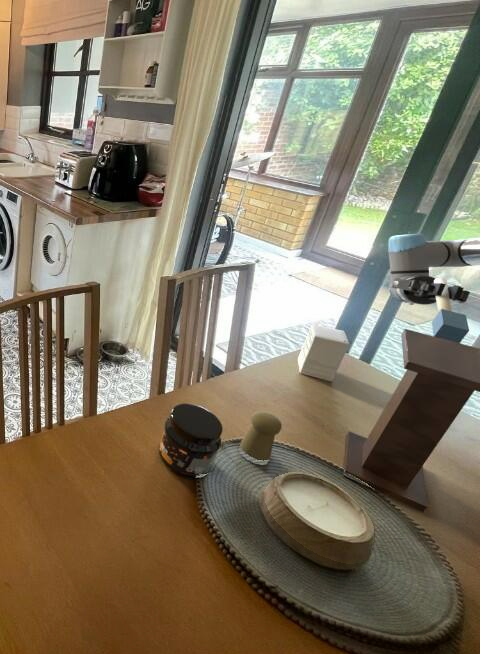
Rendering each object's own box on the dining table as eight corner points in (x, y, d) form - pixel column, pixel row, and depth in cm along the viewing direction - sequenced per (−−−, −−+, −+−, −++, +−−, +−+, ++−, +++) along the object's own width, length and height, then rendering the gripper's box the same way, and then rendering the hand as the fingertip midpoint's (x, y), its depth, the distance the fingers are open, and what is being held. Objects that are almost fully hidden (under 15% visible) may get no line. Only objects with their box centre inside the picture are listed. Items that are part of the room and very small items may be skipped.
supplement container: (153, 437, 95) (163, 398, 90) (202, 444, 93) (215, 404, 88) (163, 476, 86) (175, 435, 80) (217, 485, 84) (234, 444, 78)
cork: (240, 460, 89) (255, 423, 84) (234, 439, 94) (248, 403, 89) (273, 468, 87) (290, 431, 82) (265, 447, 92) (281, 410, 87)
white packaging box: (328, 367, 117) (345, 330, 111) (332, 382, 111) (350, 344, 106) (296, 359, 120) (311, 323, 115) (298, 373, 115) (314, 335, 109)
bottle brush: (448, 285, 97) (456, 272, 95) (458, 344, 82) (469, 330, 80) (427, 280, 99) (435, 268, 97) (433, 337, 84) (443, 323, 82)
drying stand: (418, 465, 88) (495, 352, 75) (423, 512, 78) (512, 393, 65) (345, 435, 95) (404, 328, 82) (342, 475, 86) (408, 361, 73)
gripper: (455, 312, 105) (494, 319, 86) (376, 294, 114) (396, 296, 95) (467, 285, 104) (509, 285, 85) (387, 268, 112) (409, 265, 94)
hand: (449, 291), depth 90 cm, fingers closed on bottle brush, 2 cm apart
